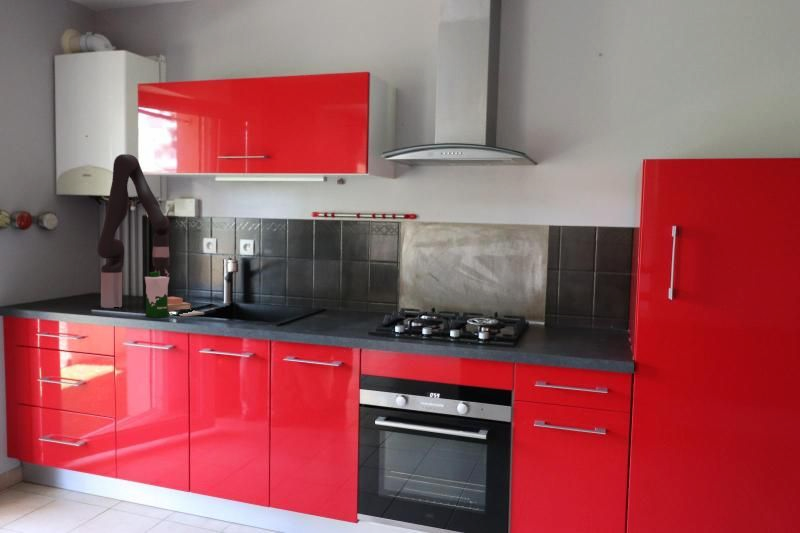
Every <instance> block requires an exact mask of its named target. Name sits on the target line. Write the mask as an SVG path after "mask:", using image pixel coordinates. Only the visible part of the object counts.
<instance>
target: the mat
mask: <svg viewBox="0 0 800 533" xmlns="http://www.w3.org/2000/svg"><path fill="white" fill-rule="evenodd" d="M179 315H180V316H179V317H181V316H183V317H190V316H191V317H193V316H198V315H199V316H200V315H205V312H204V311H199V310H193V311H192V312H188V313H183V314H179Z"/></svg>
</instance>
